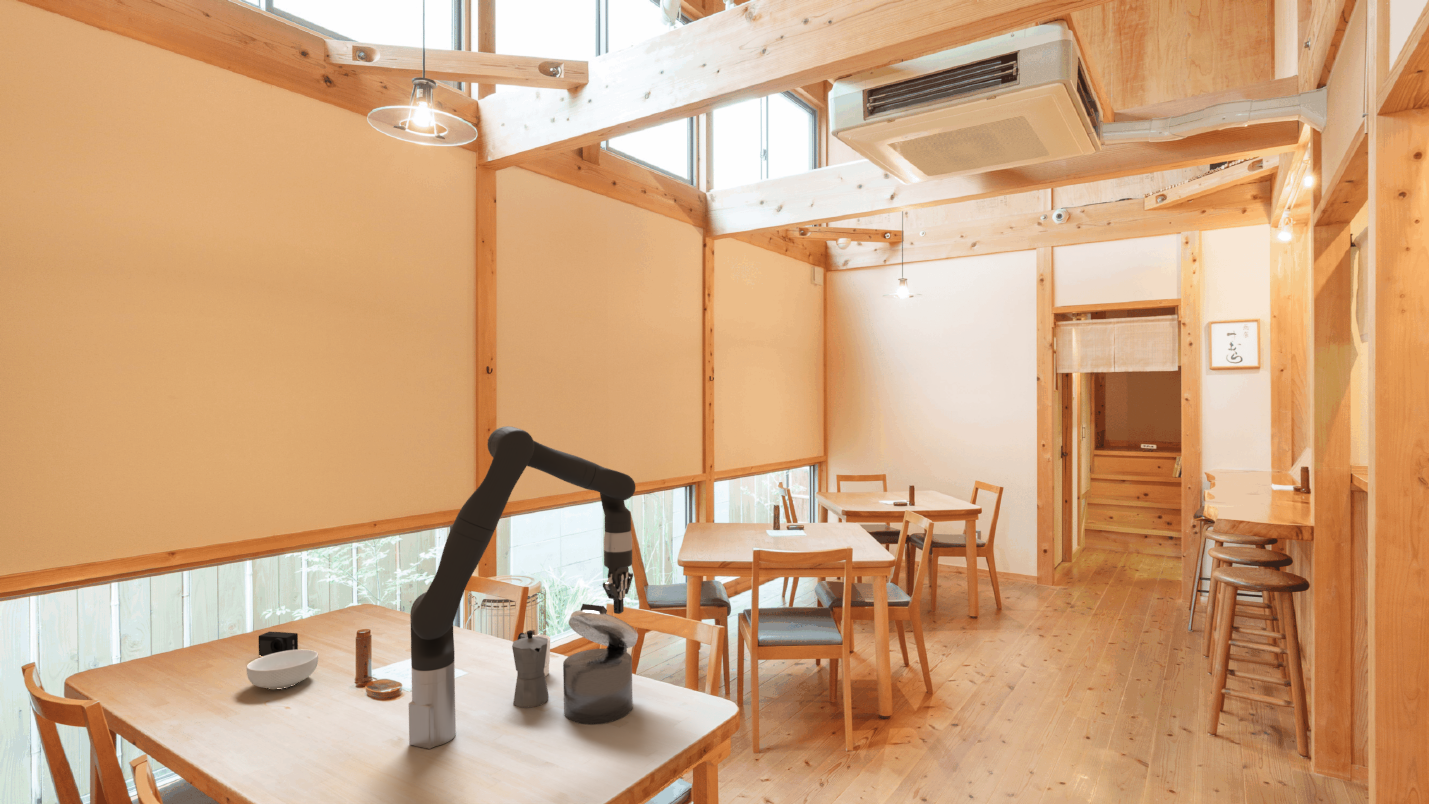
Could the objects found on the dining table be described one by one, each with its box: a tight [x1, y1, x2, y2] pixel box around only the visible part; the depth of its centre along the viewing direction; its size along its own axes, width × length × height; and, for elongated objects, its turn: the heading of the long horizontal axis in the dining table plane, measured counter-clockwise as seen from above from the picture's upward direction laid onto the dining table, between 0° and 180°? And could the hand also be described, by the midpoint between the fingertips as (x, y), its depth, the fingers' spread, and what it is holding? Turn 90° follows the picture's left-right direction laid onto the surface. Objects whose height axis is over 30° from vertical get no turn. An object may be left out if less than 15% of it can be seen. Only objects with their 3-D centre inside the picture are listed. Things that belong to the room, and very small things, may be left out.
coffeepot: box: [511, 630, 549, 709], centre depth 179 cm, size 15×9×18 cm, turn 33°
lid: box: [568, 603, 639, 649], centre depth 176 cm, size 19×18×3 cm
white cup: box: [532, 634, 551, 677], centre depth 195 cm, size 8×8×10 cm
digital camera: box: [258, 631, 299, 656], centre depth 212 cm, size 10×5×7 cm, turn 78°
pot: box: [562, 646, 634, 725], centre depth 174 cm, size 19×17×12 cm
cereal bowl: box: [246, 648, 319, 689], centre depth 191 cm, size 17×17×7 cm
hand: (618, 612), depth 183 cm, fingers closed
